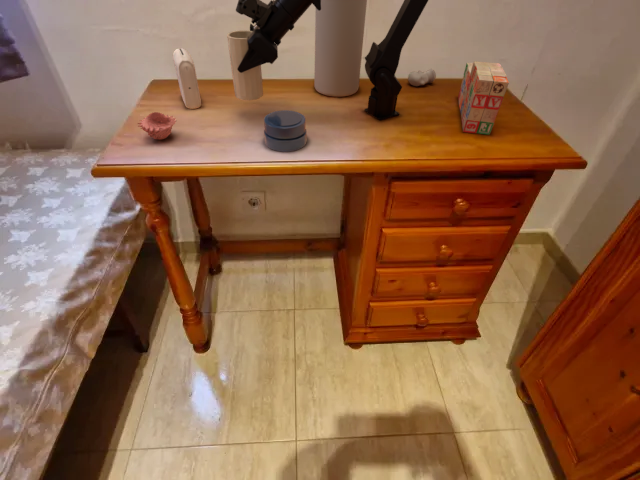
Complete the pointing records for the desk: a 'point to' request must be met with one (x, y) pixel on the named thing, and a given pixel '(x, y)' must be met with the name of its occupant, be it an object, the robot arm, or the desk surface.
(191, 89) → the photo printer
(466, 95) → the stack of blocks
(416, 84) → the smooth white sculpture
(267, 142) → the round ridged metallic base
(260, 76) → the cup
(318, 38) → the cylinder vase
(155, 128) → the pink clay bowl
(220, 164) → the desk surface
